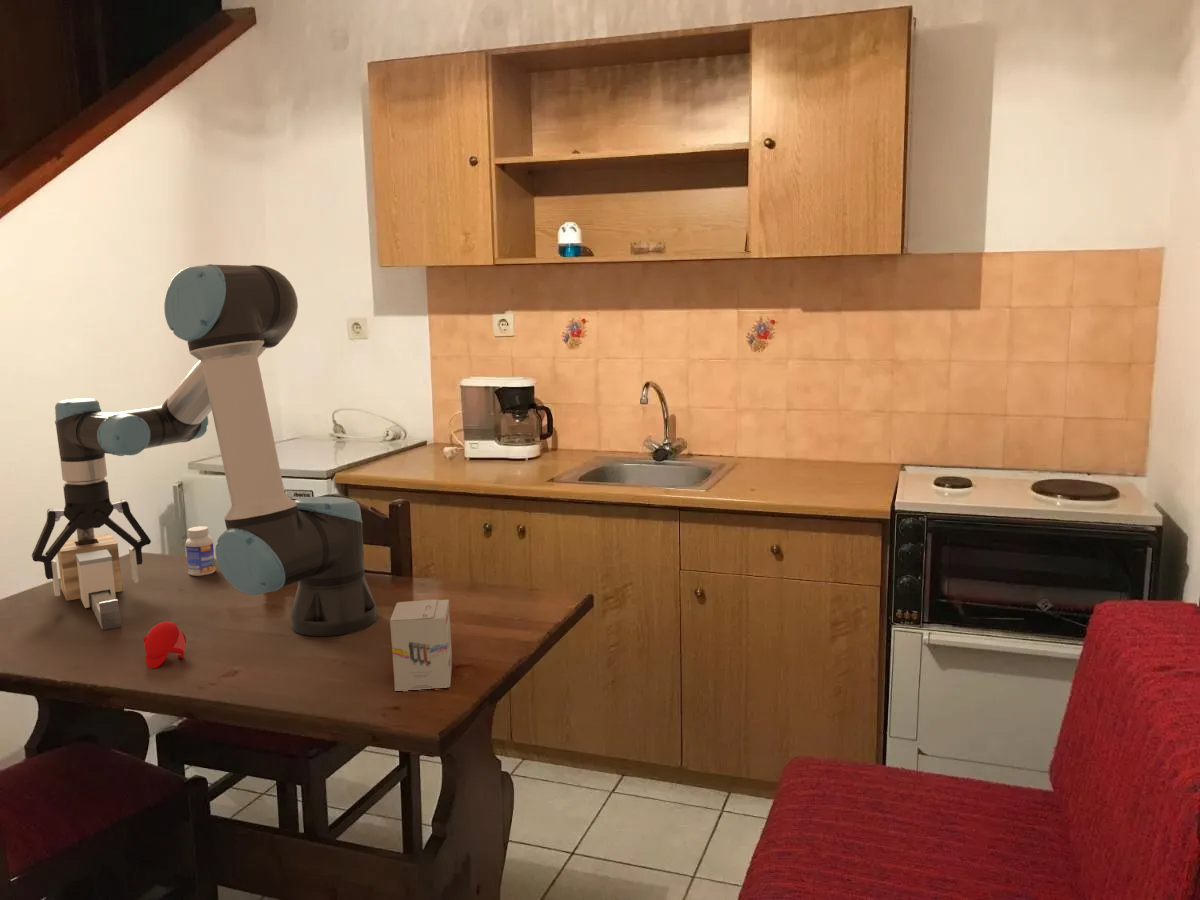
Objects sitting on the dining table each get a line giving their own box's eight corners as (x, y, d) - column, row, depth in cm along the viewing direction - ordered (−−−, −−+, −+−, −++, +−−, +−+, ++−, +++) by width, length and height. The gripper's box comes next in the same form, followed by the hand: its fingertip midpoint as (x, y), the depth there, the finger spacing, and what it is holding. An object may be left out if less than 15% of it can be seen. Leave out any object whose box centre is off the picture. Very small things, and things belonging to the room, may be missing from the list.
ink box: (399, 670, 155) (395, 599, 152) (453, 667, 155) (450, 597, 153) (392, 693, 146) (388, 618, 144) (449, 690, 147) (446, 616, 145)
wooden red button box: (122, 591, 195) (117, 543, 193) (66, 600, 189) (60, 551, 187) (115, 579, 202) (110, 533, 200) (61, 588, 197) (55, 541, 195)
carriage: (116, 602, 186) (111, 556, 185) (84, 608, 183) (79, 561, 182) (111, 594, 191) (107, 549, 190) (80, 599, 188) (75, 554, 187)
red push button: (100, 544, 193) (97, 521, 192) (75, 548, 191) (73, 524, 190) (97, 539, 197) (94, 516, 196) (73, 543, 194) (70, 520, 194)
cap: (156, 631, 164) (132, 624, 158) (187, 620, 163) (165, 613, 158) (159, 676, 160) (136, 671, 155) (192, 665, 160) (169, 660, 154)
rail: (120, 626, 175) (118, 600, 174) (102, 630, 173) (99, 603, 172) (103, 594, 193) (100, 570, 192) (86, 597, 191) (83, 573, 190)
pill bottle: (205, 577, 203) (201, 532, 202) (182, 575, 204) (178, 531, 203) (220, 569, 209) (217, 525, 207) (198, 568, 210) (194, 524, 208)
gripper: (152, 469, 193) (162, 571, 197) (7, 485, 179) (21, 594, 183) (159, 475, 187) (170, 580, 191) (10, 492, 173) (24, 605, 177)
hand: (97, 587), depth 187 cm, fingers open, 13 cm apart
